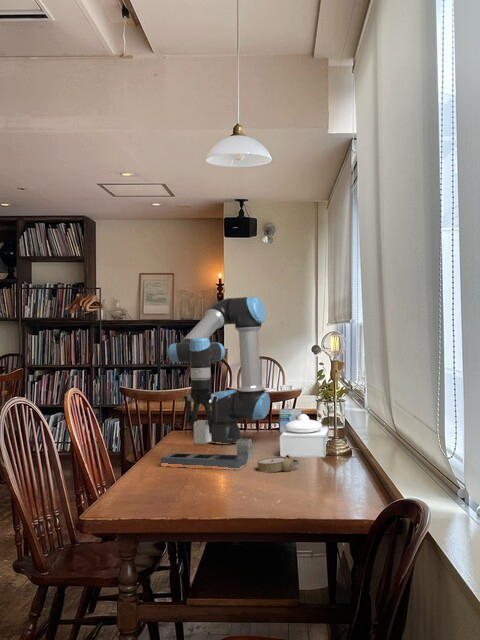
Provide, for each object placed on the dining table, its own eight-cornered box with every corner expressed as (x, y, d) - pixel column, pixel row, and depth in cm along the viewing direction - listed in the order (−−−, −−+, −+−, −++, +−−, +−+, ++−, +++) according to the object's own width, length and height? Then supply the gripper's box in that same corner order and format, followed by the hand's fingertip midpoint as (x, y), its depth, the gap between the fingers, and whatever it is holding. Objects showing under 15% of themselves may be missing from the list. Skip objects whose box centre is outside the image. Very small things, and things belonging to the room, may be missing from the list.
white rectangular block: (241, 459, 243) (240, 438, 243) (252, 459, 241) (251, 438, 241) (237, 461, 238) (236, 440, 239) (248, 462, 237) (247, 440, 237)
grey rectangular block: (199, 441, 235) (198, 420, 235) (210, 441, 234) (209, 420, 234) (194, 443, 231) (193, 421, 231) (205, 443, 229) (205, 421, 230)
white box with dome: (286, 448, 261) (284, 410, 261) (329, 449, 257) (328, 410, 258) (280, 457, 244) (278, 416, 244) (326, 457, 240) (324, 416, 240)
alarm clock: (259, 458, 230) (298, 450, 227) (261, 471, 230) (301, 464, 227) (253, 464, 219) (295, 457, 216) (256, 478, 219) (298, 471, 216)
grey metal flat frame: (172, 461, 242) (171, 452, 242) (247, 464, 232) (246, 455, 232) (160, 466, 233) (160, 457, 233) (238, 470, 223) (237, 460, 223)
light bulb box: (279, 432, 301) (278, 410, 301) (281, 430, 308) (280, 408, 308) (301, 432, 299) (301, 410, 300) (302, 430, 306) (302, 408, 306)
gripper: (175, 379, 233) (177, 442, 232) (218, 379, 227) (220, 444, 226) (183, 378, 240) (185, 439, 239) (226, 378, 234) (228, 440, 233)
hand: (202, 441), depth 233 cm, fingers closed on grey rectangular block, 4 cm apart
